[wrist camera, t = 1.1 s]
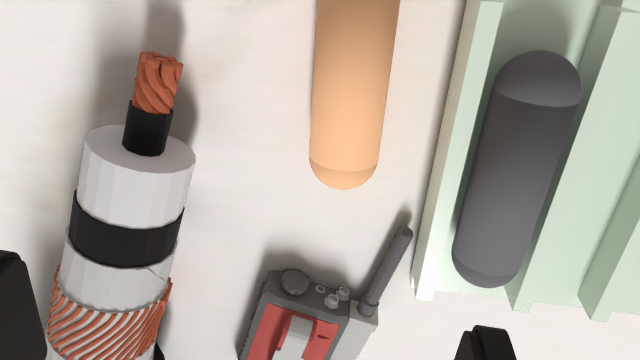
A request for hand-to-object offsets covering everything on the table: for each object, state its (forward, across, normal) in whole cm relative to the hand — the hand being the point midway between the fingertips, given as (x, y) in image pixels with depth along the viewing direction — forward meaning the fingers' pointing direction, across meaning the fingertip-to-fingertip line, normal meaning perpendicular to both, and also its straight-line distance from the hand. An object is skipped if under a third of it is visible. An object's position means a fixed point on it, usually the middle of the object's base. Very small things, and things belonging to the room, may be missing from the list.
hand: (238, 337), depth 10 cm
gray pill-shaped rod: (+16, -10, +3) cm, 20 cm away
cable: (+20, +13, +16) cm, 28 cm away
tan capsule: (+17, -1, -2) cm, 17 cm away
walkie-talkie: (+20, -1, +17) cm, 27 cm away
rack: (+19, -16, +3) cm, 25 cm away
